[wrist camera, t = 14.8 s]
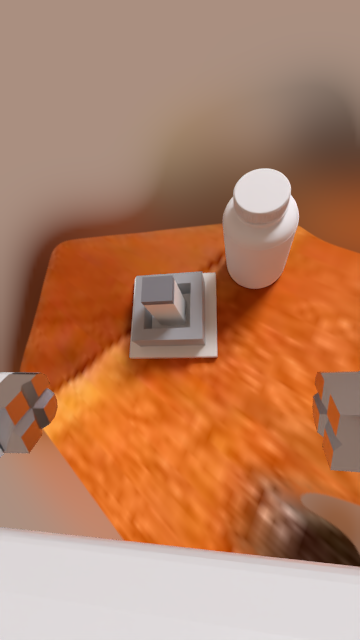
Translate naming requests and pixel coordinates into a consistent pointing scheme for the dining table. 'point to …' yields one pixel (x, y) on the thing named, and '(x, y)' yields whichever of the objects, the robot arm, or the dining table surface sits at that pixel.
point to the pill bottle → (259, 228)
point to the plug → (163, 299)
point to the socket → (182, 338)
